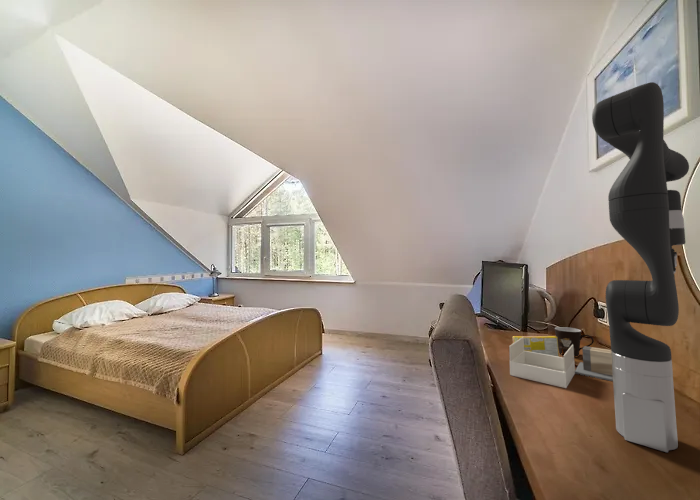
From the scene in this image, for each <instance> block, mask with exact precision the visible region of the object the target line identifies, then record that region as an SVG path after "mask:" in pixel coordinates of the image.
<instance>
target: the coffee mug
mask: <svg viewBox="0 0 700 500" xmlns="http://www.w3.org/2000/svg"><path fill="white" fill-rule="evenodd" d="M554 331H555V332H554V333H555V336H556V337H557V340H558V352H559V353H560V354H559V355H561V353H562V349H563V352H564V354H565V353H566V351H567V350H568V349H569V348H570V347H571V345H573V347H574V356H578V355H579V356H580V351H581V350H582V349H583V347H584V346H582V347H581V340H583V338H584V337H588V338H590V339H591V342H590V343H589V344H588V345H585V346H586V347H591V346H592V345H593V344H594V343H595V341H594V338H593V337H592V336H591V335H589V334H582V330H581V329H578V328H575V327H566V326H565V327H562V326H558V327H557V326H556V327H554Z"/></svg>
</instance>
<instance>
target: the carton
mask: <svg viewBox="0 0 700 500" xmlns="http://www.w3.org/2000/svg"><path fill="white" fill-rule="evenodd" d="M508 348H509V350H508V352H509V375H510V376H512V377H516V378H521V379H525V380H530V381H534V382H537V383H542V384H547V385H551V386H554V387H558V388H559V387H560V388H564V389H567V388H568V386H569V385H570V383H571V382H572V380H573V377H574V376H575V375H576V374H575V370H576V366H575V365H576V364H575V357H574V347H573V345H571V347H570V348H569V349H568V350H567V351H566V353H565V354H564V355H562V356H563V357H562V356H559V357H557V356H552V355H546V354H540V353H534V352H529V351H524V337H522V338H521V339H519V340H518V341H516V342H514V343H513V342H512V343H511V344H510V345H508Z"/></svg>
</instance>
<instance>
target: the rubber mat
mask: <svg viewBox="0 0 700 500" xmlns="http://www.w3.org/2000/svg"><path fill="white" fill-rule="evenodd" d="M579 374H580V375H579ZM574 375H579V376H584V375H585V377H589V376H590V378H594V377H595V378H594V379H600V380H604V381H609V382H613V375H608V374H602V373H597V372H592V371H587V370H584V367H583V361H580V362H579V363H578V365H577V366H576V367H575V374H574Z"/></svg>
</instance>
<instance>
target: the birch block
mask: <svg viewBox="0 0 700 500" xmlns="http://www.w3.org/2000/svg"><path fill="white" fill-rule="evenodd" d="M586 346H587V345H585V346H582V347H583V349H581V350H582V362H583V367H584V370H587V371H592V372H597V373H602V374H608V375H613V372H612V354H611V349H607V348H600V347H591V346H589V347H586Z"/></svg>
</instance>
